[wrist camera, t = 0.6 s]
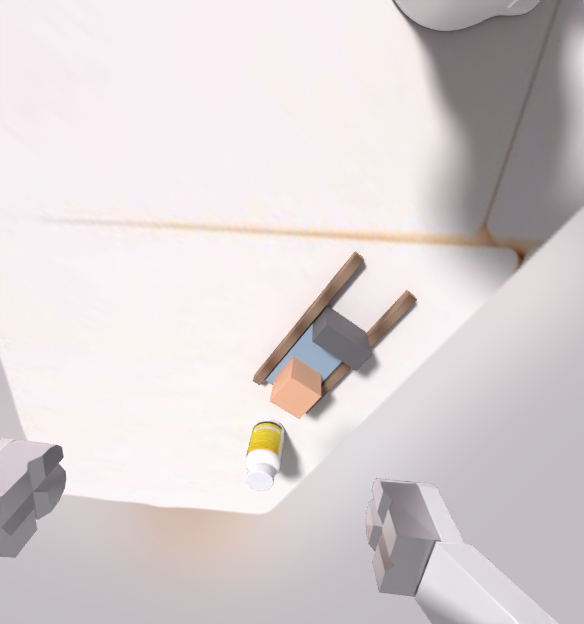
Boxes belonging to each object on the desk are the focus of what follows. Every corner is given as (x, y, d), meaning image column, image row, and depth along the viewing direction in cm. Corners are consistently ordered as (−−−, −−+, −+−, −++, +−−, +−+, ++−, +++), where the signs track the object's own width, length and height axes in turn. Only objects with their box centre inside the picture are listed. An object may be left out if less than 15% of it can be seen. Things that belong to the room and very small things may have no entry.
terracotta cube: (293, 356, 48) (290, 377, 43) (321, 374, 49) (321, 396, 44) (274, 379, 50) (269, 401, 45) (301, 395, 51) (299, 419, 46)
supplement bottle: (248, 421, 55) (234, 471, 46) (278, 414, 54) (270, 464, 45) (260, 445, 57) (249, 497, 48) (289, 438, 56) (284, 491, 47)
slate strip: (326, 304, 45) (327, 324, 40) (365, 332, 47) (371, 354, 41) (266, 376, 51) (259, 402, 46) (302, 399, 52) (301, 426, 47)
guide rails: (355, 251, 42) (356, 254, 41) (413, 295, 44) (416, 299, 43) (254, 374, 51) (252, 381, 50) (306, 406, 53) (306, 413, 52)
